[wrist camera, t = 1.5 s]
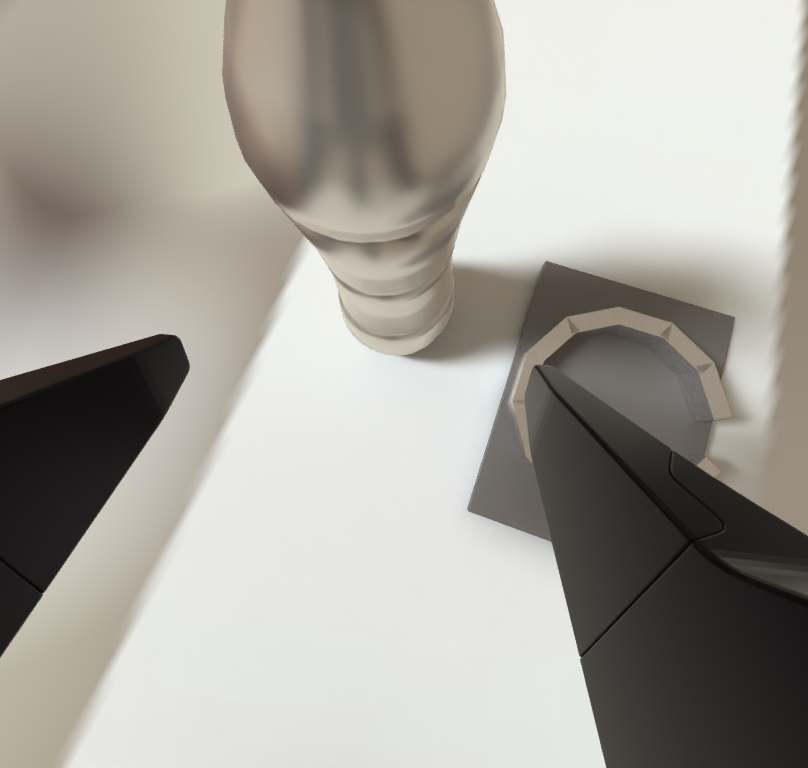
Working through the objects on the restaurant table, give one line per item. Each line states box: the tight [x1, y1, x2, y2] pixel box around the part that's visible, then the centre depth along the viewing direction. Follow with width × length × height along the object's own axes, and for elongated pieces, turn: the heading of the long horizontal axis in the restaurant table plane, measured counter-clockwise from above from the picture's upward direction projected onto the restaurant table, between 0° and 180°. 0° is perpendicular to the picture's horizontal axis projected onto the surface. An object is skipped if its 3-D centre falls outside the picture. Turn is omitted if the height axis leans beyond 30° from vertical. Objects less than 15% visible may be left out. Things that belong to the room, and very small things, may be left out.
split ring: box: [505, 307, 733, 478], centre depth 20 cm, size 11×11×2 cm
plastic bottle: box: [222, 0, 506, 356], centre depth 13 cm, size 6×7×20 cm
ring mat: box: [467, 261, 735, 542], centre depth 21 cm, size 16×12×1 cm
